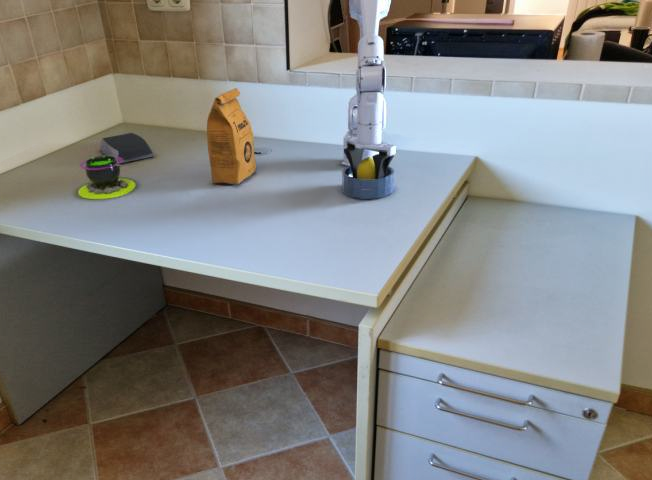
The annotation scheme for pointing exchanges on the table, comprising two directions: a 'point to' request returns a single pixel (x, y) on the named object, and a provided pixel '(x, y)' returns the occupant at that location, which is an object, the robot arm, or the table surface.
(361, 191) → the bowl
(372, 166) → the lemon
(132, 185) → the toy cauldron
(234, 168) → the coffee package
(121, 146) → the hard drive
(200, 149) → the table surface
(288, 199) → the table surface
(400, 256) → the table surface
